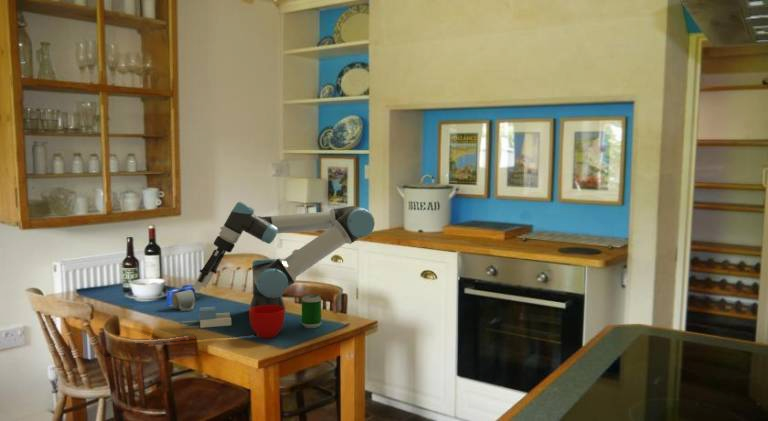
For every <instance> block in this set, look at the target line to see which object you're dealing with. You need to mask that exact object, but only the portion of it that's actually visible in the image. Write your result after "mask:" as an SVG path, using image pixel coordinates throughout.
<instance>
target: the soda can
mask: <svg viewBox="0 0 768 421" xmlns="http://www.w3.org/2000/svg"><path fill="white" fill-rule="evenodd" d="M301 324H302V326H303V327H304V328H306V329H316V328H319V327H320V325H322V298H321V296H320V295H319V294H316V293H314V294H313V293H312V294H311V293H310V294H309V293H308V294H304V295H303V297H301Z"/></svg>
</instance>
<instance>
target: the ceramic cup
mask: <svg viewBox="0 0 768 421" xmlns="http://www.w3.org/2000/svg"><path fill="white" fill-rule="evenodd" d="M249 308H250V307H249ZM249 308H248V316H249V323H250V326H251V328H252V330H253V332H254V334H256V335H257V336H258V337H257V338H259V339H260V338H261V339H271V338H274V337H277V335H278V334H279V333H280V332H281V330H282V328H283V326H284V322H285V316H286V315H285V314H286V313H285V308H286V307H285V308H284V307H282V306H278V305H261V306H256V307H252V308H250V309H249Z"/></svg>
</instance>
